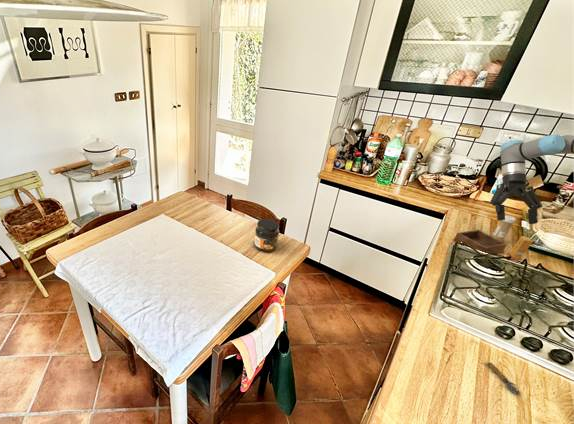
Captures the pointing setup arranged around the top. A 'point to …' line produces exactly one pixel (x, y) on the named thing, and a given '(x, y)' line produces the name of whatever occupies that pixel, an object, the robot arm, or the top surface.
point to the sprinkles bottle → (503, 228)
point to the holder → (481, 241)
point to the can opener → (509, 384)
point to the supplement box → (520, 247)
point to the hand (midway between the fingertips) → (517, 221)
